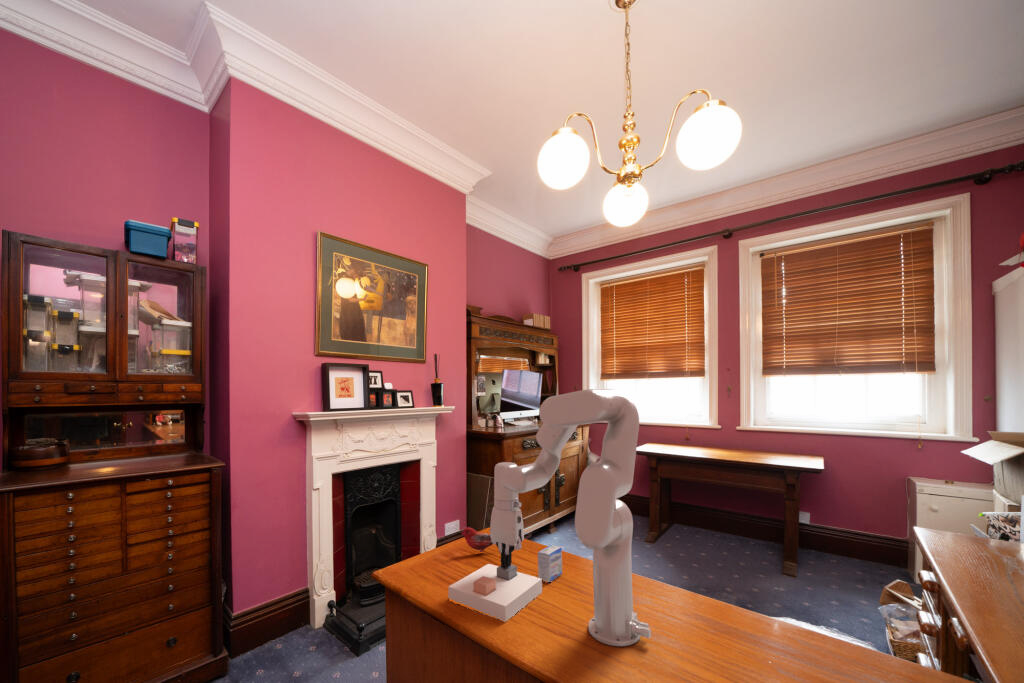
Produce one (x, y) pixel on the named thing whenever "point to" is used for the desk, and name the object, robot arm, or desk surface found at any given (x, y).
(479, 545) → the decorative bird figurine
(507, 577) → the grey key
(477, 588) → the terracotta key
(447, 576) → the desk surface
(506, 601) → the key console
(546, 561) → the medicine box
